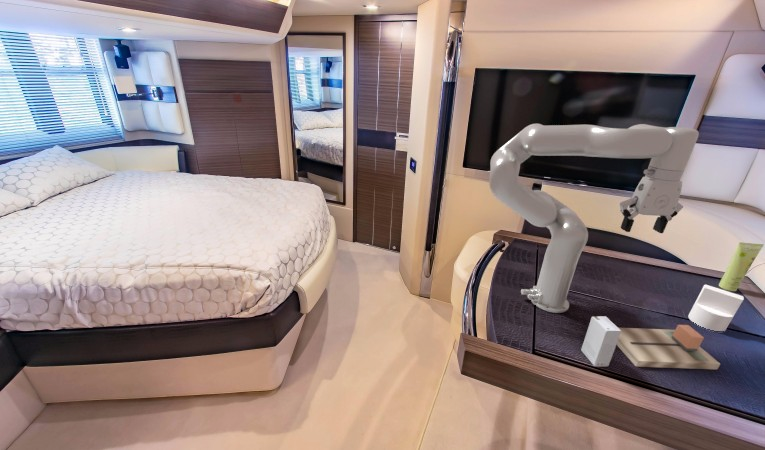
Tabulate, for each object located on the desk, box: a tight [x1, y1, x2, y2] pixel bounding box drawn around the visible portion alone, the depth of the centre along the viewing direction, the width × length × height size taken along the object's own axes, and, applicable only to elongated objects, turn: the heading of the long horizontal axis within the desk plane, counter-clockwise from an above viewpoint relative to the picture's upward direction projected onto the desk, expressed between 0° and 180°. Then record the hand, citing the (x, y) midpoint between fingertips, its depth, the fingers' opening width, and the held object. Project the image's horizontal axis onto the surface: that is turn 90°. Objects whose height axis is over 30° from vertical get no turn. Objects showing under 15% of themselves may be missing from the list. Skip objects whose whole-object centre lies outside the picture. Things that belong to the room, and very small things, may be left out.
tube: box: [718, 242, 764, 292], centre depth 119 cm, size 6×5×20 cm
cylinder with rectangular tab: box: [687, 284, 745, 332], centre depth 102 cm, size 9×9×12 cm
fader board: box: [616, 327, 721, 370], centre depth 92 cm, size 22×13×2 cm, turn 89°
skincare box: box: [581, 315, 621, 368], centre depth 86 cm, size 6×4×12 cm
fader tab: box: [671, 324, 705, 351], centre depth 90 cm, size 3×5×5 cm, turn 179°
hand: (641, 230), depth 95 cm, fingers open, 9 cm apart
